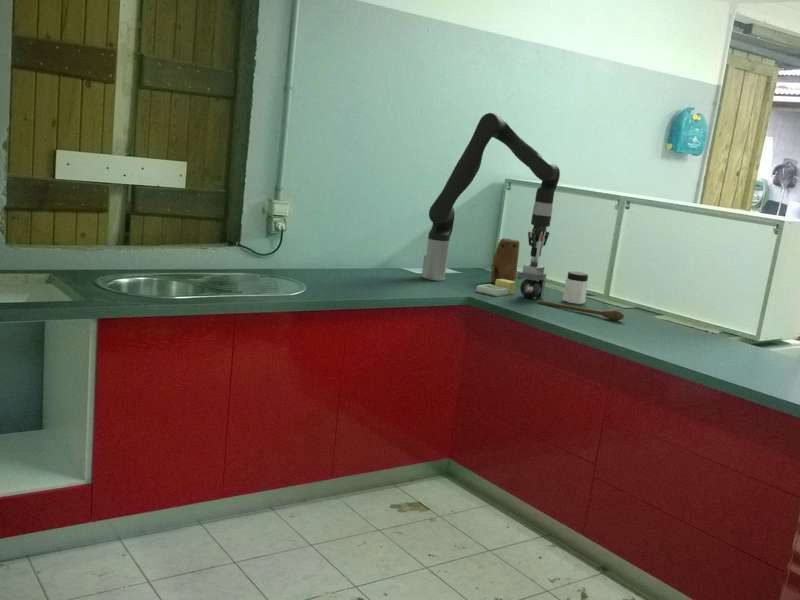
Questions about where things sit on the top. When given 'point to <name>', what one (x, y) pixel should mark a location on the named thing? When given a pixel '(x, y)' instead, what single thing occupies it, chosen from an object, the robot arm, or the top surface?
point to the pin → (535, 259)
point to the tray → (492, 290)
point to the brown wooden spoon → (588, 310)
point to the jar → (575, 287)
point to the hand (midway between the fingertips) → (535, 256)
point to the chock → (506, 285)
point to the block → (505, 260)
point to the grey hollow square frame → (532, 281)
